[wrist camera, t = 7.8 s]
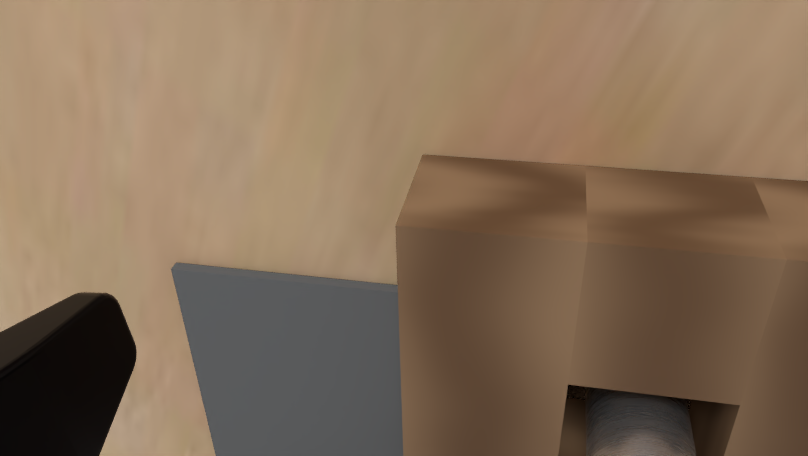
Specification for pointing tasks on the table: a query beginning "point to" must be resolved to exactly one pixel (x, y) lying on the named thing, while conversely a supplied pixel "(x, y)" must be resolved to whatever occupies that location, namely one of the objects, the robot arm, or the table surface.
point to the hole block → (599, 305)
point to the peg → (636, 424)
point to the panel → (294, 361)
